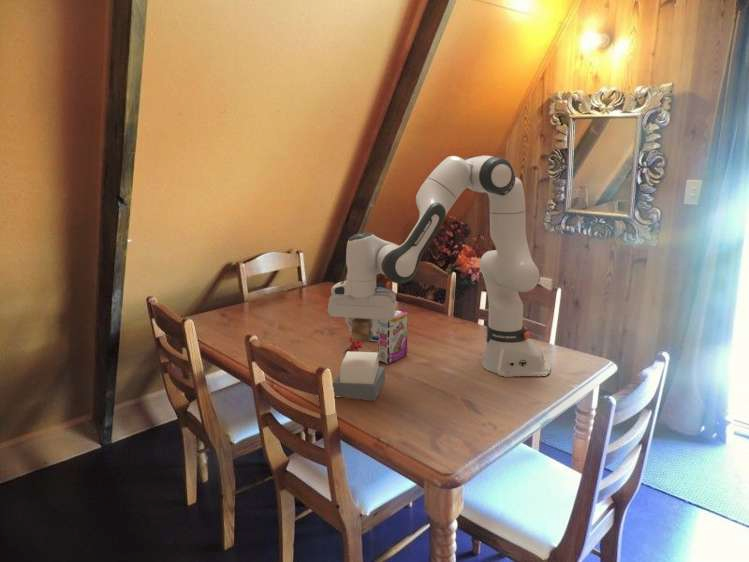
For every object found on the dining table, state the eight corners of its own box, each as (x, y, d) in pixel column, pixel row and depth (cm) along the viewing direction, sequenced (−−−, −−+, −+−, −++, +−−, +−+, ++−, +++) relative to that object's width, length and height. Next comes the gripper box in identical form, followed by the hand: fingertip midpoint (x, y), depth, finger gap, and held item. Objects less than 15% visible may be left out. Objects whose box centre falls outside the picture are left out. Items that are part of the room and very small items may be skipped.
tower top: (378, 367, 178) (378, 352, 177) (373, 384, 166) (373, 368, 164) (347, 365, 179) (347, 351, 178) (340, 382, 167) (339, 367, 166)
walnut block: (371, 336, 171) (371, 318, 170) (368, 342, 166) (368, 323, 165) (355, 335, 172) (355, 317, 171) (352, 341, 167) (351, 322, 166)
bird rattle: (342, 374, 189) (361, 370, 184) (331, 343, 189) (350, 338, 184) (353, 368, 194) (373, 364, 189) (343, 338, 194) (362, 333, 189)
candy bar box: (389, 365, 191) (388, 319, 187) (377, 361, 194) (377, 317, 190) (408, 355, 200) (408, 312, 196) (397, 352, 203) (397, 309, 199)
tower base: (384, 381, 180) (384, 366, 178) (375, 402, 165) (375, 386, 164) (345, 378, 182) (345, 364, 181) (333, 398, 168) (332, 383, 167)
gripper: (397, 286, 166) (397, 330, 170) (331, 283, 170) (332, 326, 174) (394, 291, 160) (393, 337, 164) (325, 288, 164) (327, 332, 168)
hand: (361, 331), depth 169 cm, fingers closed on walnut block, 5 cm apart
